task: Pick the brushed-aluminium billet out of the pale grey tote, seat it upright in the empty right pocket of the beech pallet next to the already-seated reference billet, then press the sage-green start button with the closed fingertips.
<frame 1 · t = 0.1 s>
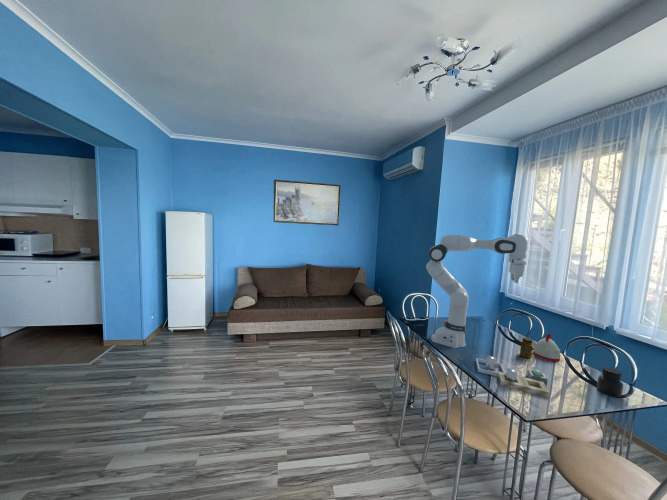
hand: (514, 281, 171), 48 cm above the table, fingers open, 8 cm apart
ink bottle: (608, 392, 137), on the table
kitchen timer: (545, 356, 175), on the table
pallet: (521, 386, 137), on the table
start button: (537, 373, 144), point 4 cm above the table, slide at 0.0 cm
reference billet: (510, 383, 139), point 1 cm above the table, touching pallet
condiment: (524, 357, 171), on the table
tote: (489, 370, 153), on the table
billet: (489, 369, 153), resting on tote
button housing: (536, 380, 144), on the table
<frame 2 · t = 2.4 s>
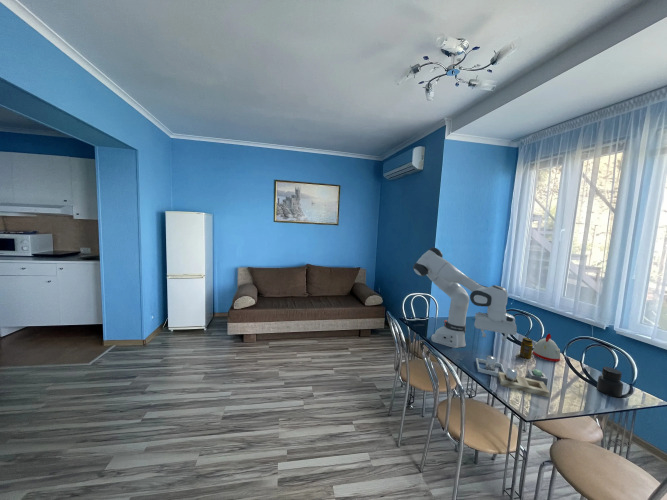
hand: (493, 338, 151), 19 cm above the table, fingers open, 8 cm apart
nothing on the table moved.
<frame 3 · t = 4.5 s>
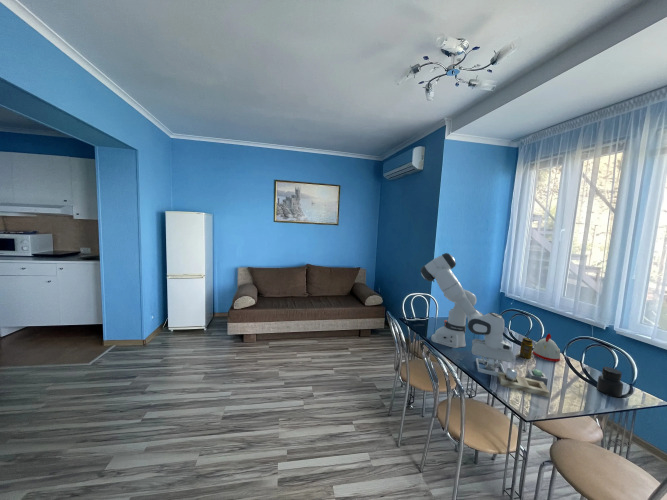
hand: (490, 365, 152), 3 cm above the table, fingers closed on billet, 4 cm apart
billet: (489, 369, 153), resting on tote, touching gripper
everything else where it was.
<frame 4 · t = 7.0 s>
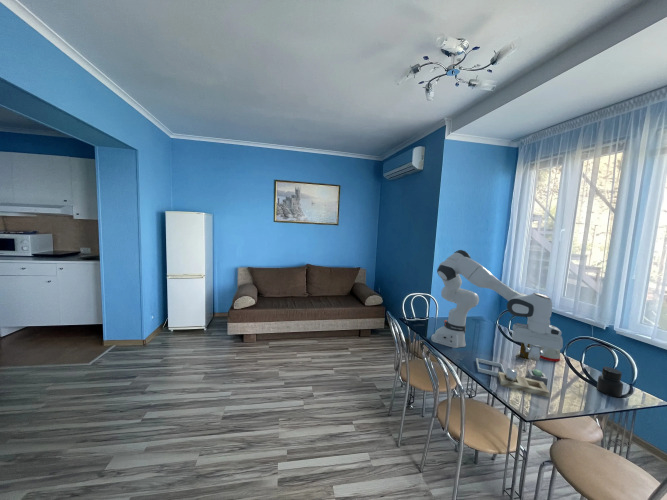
hand: (534, 353, 134), 19 cm above the table, fingers closed on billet, 4 cm apart
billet: (533, 359, 134), point 16 cm above the table, touching gripper
everything else where it was.
when the fingers open (4 cm above the table, at t = 9.4 s): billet stays where it is, resting on pallet.
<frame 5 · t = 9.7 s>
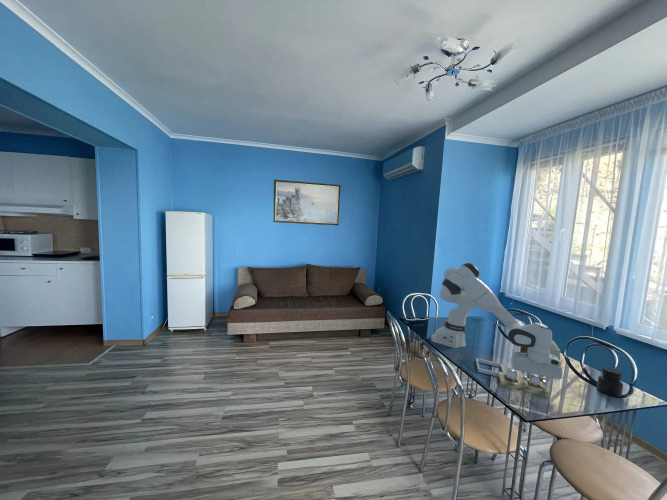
hand: (534, 381, 135), 4 cm above the table, fingers open, 7 cm apart
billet: (533, 388, 135), point 1 cm above the table, touching pallet
everything else where it was.
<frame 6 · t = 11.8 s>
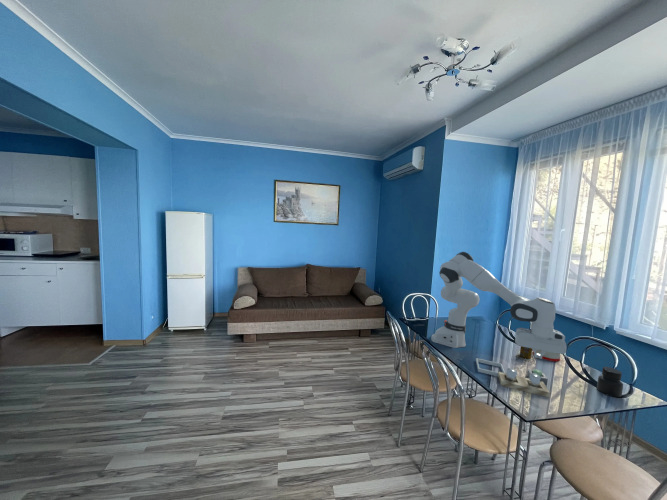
hand: (537, 357, 134), 17 cm above the table, fingers closed
nothing on the table moved.
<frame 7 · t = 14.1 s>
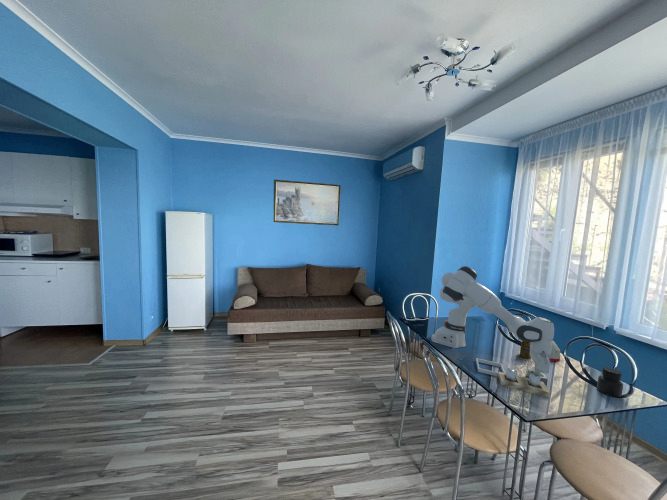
hand: (537, 372, 143), 5 cm above the table, fingers closed, pressing on start button
start button: (537, 375, 144), point 3 cm above the table, slide at -0.9 cm, touching gripper
everything else where it was.
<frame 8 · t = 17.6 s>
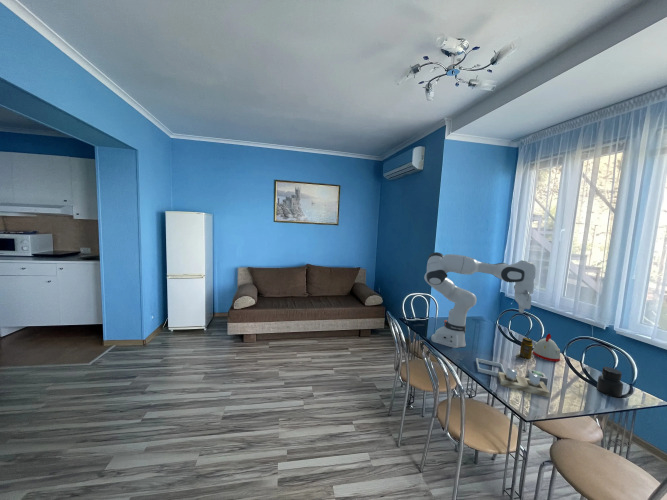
hand: (521, 312, 155), 33 cm above the table, fingers closed
start button: (537, 375, 144), point 3 cm above the table, slide at -1.0 cm
everything else where it was.
at the end: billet 0.1 cm from the target spot on the pallet, point 0.7 cm above the pallet's base; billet tilted 2°; start button slide at -1.0 cm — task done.
